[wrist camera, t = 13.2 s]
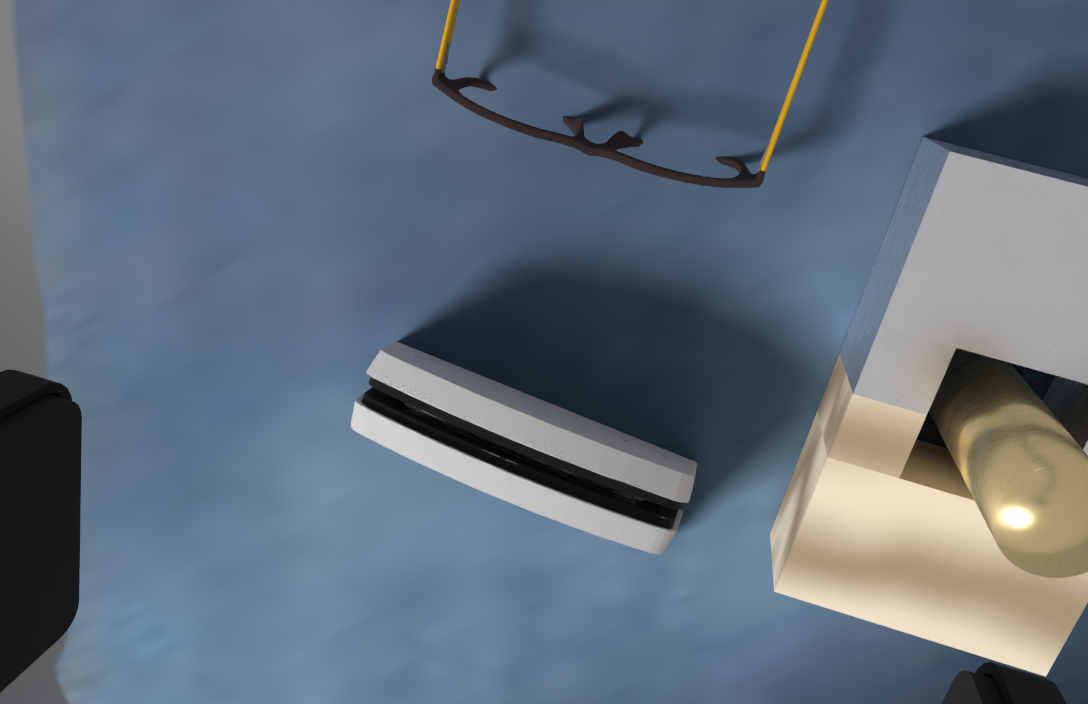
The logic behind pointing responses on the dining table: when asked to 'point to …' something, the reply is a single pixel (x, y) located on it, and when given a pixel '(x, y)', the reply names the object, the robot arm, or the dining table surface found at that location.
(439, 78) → the eyeglasses
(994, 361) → the brass pin
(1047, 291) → the gray notched block
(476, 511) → the dining table surface
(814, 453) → the notched wooden block
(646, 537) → the white black arched block
